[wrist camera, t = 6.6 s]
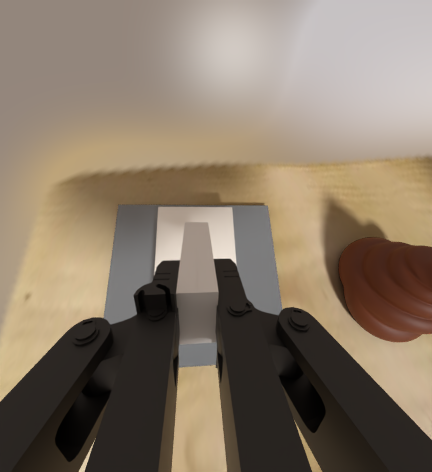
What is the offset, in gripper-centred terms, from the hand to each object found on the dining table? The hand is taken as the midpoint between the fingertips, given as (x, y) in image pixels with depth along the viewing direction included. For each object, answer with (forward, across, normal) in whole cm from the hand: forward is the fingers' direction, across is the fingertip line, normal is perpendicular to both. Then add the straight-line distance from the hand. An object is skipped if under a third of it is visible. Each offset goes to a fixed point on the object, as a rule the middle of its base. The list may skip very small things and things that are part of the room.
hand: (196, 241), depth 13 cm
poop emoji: (+3, -18, +7) cm, 20 cm away
